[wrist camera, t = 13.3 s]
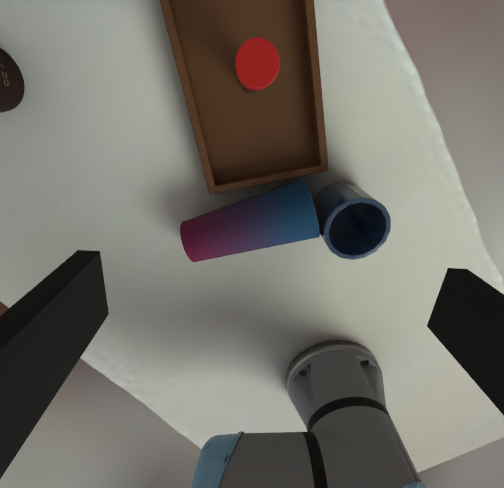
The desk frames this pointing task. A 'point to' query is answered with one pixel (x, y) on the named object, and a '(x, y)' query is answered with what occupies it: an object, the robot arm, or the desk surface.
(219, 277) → the desk surface
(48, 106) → the desk surface
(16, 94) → the coffee mug
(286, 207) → the cup
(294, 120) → the pen tray
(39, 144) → the desk surface
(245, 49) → the marker
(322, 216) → the pen cup
